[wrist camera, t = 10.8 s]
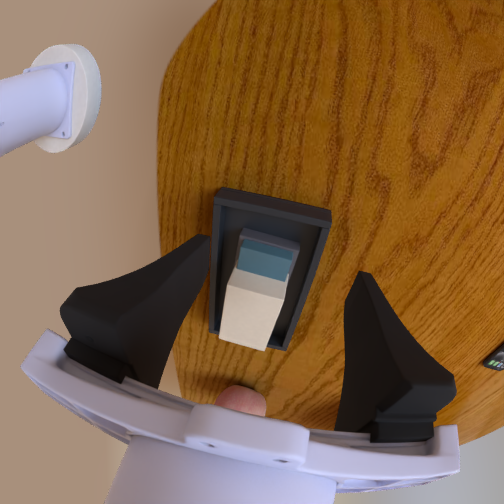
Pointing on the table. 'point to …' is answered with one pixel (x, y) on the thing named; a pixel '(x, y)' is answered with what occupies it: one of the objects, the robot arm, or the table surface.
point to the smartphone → (496, 360)
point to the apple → (242, 400)
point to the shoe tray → (273, 223)
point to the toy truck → (257, 288)
